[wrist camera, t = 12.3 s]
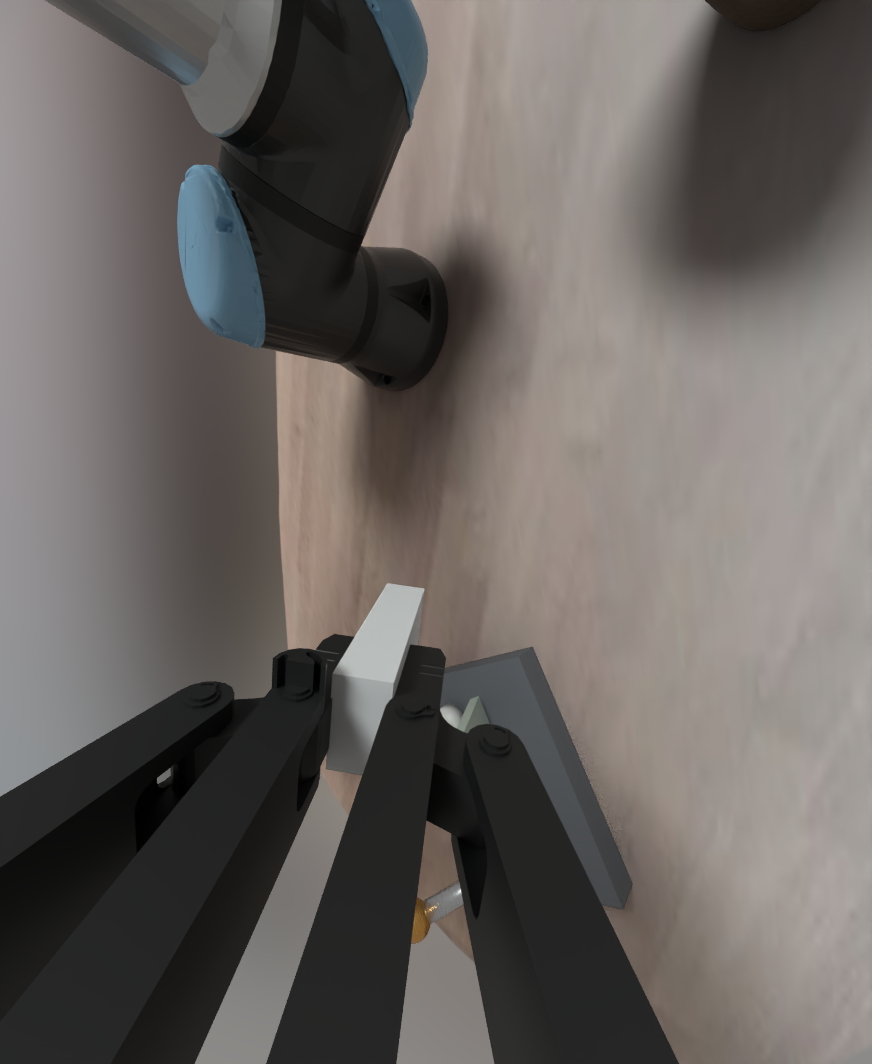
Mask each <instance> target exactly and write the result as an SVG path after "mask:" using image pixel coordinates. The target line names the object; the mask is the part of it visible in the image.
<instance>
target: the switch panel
mask: <svg viewBox="0 0 872 1064" xmlns="http://www.w3.org/2000/svg"><path fill="white" fill-rule="evenodd" d="M477 696H479V698H480V700H481V703H482V705H483V708H484V710H485V713H486V716H487V718H488V721H489V723H490V724H493V725H499V726H501V727H504V728H506V729H509V730H510V731H512V732H513V733H514V734H516V735H517V736H518V737H519V739H520V740H521V741H522V743H523V744H524V746H525V748H526V750H527V752H528V754H529V756H530V758H531V760H532V762H533V765H534V767H535V769H536V771H537V773H538V775H539V777H540V779H541V781H542V783H543V785H544V787H545V789H546V791H547V793H548V795H549V797H550V799H551V802H552V804H553V806H554V808H555V810H556V812H557V814H558V816H559V818H560V820H561V822H562V824H563V826H564V828H565V830H566V832H567V834H568V837H569V839H570V841H571V843H572V845H573V847H574V849H575V851H576V853H577V855H578V857H579V859H580V861H581V863H582V865H583V867H584V869H585V871H586V874H587V876H588V878H589V880H590V882H591V884H592V886H593V888H594V890H595V892H596V894H597V896H598V898H599V900H600V902H601V904H602V905H606V906H610V907H615V908H619V909H623V908H624V905H625V903H626V900H627V897H628V895H629V892H630V889H631V887H632V882H631V879H630V877H629V875H628V872H627V870H626V868H625V865H624V863H623V860H622V858H621V856H620V853H619V851H618V849H617V846H616V844H615V841H614V839H613V837H612V834H611V832H610V830H609V827H608V825H607V822H606V820H605V818H604V815H603V813H602V811H601V808H600V806H599V803H598V801H597V799H596V796H595V794H594V792H593V789H592V787H591V785H590V782H589V780H588V777H587V775H586V773H585V770H584V768H583V766H582V763H581V761H580V758H579V756H578V754H577V751H576V749H575V747H574V744H573V742H572V739H571V737H570V735H569V732H568V730H567V728H566V725H565V723H564V720H563V718H562V716H561V713H560V711H559V709H558V706H557V704H556V701H555V699H554V697H553V694H552V692H551V690H550V687H549V685H548V682H547V680H546V678H545V675H544V673H543V671H542V668H541V666H540V663H539V661H538V659H537V656H536V654H535V652H534V649H533V647H530V648H525V649H521V650H517V651H513V652H509V653H505V654H501V655H497V656H493V657H489V658H485V659H481V660H477V661H473V662H468V663H464V664H460V665H456V666H452V667H448V668H445V669H444V678H443V686H442V694H441V702H440V708H441V707H443V706H444V705H446V704H452V705H454V706H456V707H457V708H458V709H459V710H460V711H461V712H462V714H464V711H465V709H466V707H467V705H468V703H469V701H470V699H472V698H475V697H477Z"/></svg>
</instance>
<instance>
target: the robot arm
mask: <svg viewBox="0 0 872 1064" xmlns="http://www.w3.org/2000/svg"><path fill="white" fill-rule="evenodd" d="M45 1H47V2H48V3H50V4H52V5H53V6H55V7H56V8H58V9H60V10H62V11H63V12H65V13H66V14H68V15H69V16H71V17H73V18H74V19H76V20H78V21H79V22H81V23H83V24H84V25H86V26H87V27H89V28H91V29H92V30H94V31H96V32H97V33H99V34H101V35H102V36H104V37H105V38H107V39H108V40H110V41H112V42H114V43H115V44H117V45H118V46H120V47H121V48H123V49H125V50H126V51H128V52H130V53H131V54H133V55H134V56H136V57H138V58H139V59H141V60H143V61H144V62H146V63H147V64H149V65H151V66H153V67H154V68H156V69H157V70H159V71H161V72H162V73H164V74H165V75H167V76H169V77H170V78H172V79H174V80H175V81H177V82H178V83H179V84H180V86H181V88H182V90H183V92H184V94H185V96H186V98H187V100H188V103H189V105H190V107H191V109H192V111H193V113H194V115H195V117H196V118H197V120H198V122H199V123H200V124H201V125H202V127H203V128H204V129H205V130H207V131H208V132H210V133H211V134H213V135H215V136H216V137H218V138H220V139H222V140H223V141H222V147H221V152H220V157H219V162H218V167H217V170H216V169H215V168H214V167H212V166H209V165H203V166H201V165H194V166H192V167H190V168H189V170H188V171H187V172H186V174H185V181H184V182H183V183H182V185H181V189H180V194H179V202H178V221H177V223H178V244H179V254H180V261H181V267H182V272H183V277H184V281H185V285H186V289H187V292H188V295H189V298H190V300H191V303H192V305H193V308H194V309H195V311H196V313H197V315H198V317H199V318H200V320H201V321H202V322H203V323H204V325H205V326H206V327H207V328H208V329H210V330H211V331H212V332H214V333H216V334H217V335H219V336H222V337H225V338H228V339H232V340H235V341H238V342H242V343H245V344H248V345H249V346H251V347H253V348H260V347H261V348H266V349H271V350H276V351H280V352H285V353H290V354H294V355H299V356H304V357H309V358H313V359H318V360H323V361H328V362H333V363H337V364H340V365H341V366H343V367H344V368H346V369H347V370H349V371H350V372H352V373H353V374H355V375H356V376H358V377H359V378H361V379H362V380H364V381H365V382H367V383H368V384H370V385H372V386H375V387H377V388H382V389H387V390H393V391H399V390H404V389H407V388H409V387H411V386H413V385H414V384H416V383H417V382H418V381H420V380H421V379H422V378H423V377H424V376H425V375H426V373H427V372H428V371H429V369H430V368H431V367H432V365H433V363H434V362H435V360H436V358H437V356H438V354H439V351H440V349H441V346H442V343H443V339H444V336H445V331H446V325H447V310H448V309H447V297H446V291H445V287H444V284H443V281H442V278H441V276H440V274H439V273H438V271H437V269H436V268H435V267H434V266H433V264H432V263H431V262H429V261H428V260H427V259H425V258H423V257H421V256H420V255H418V254H416V253H414V252H412V251H410V250H407V249H403V248H386V247H363V246H361V244H362V241H363V239H364V237H365V234H366V232H367V229H368V227H369V224H370V222H371V219H372V217H373V214H374V212H375V209H376V207H377V204H378V202H379V199H380V197H381V194H382V192H383V189H384V187H385V184H386V182H387V179H388V177H389V174H390V172H391V169H392V166H393V164H394V161H395V159H396V156H397V154H398V151H399V149H400V146H401V144H402V141H403V139H404V136H405V134H406V133H407V132H408V131H409V129H410V127H411V125H412V120H413V115H414V108H415V105H416V102H417V99H418V97H419V94H420V91H421V88H422V85H423V82H424V80H425V77H426V73H427V62H428V58H427V56H428V48H427V42H426V37H425V33H424V30H423V27H422V24H421V21H420V19H419V16H418V14H417V12H416V10H415V7H414V5H413V3H412V1H411V0H45ZM423 598H424V588H417V587H410V586H403V585H396V584H389V583H387V585H386V586H385V588H384V590H383V591H382V593H381V594H380V596H379V598H378V599H377V601H376V603H375V604H374V606H373V608H372V609H371V611H370V613H369V614H368V616H367V618H366V619H365V621H364V622H363V624H362V626H361V627H360V629H359V631H358V632H357V634H356V636H355V637H351V636H344V635H337V634H334V635H332V636H330V637H328V638H326V639H324V640H323V641H322V642H321V643H320V645H319V646H318V647H317V649H316V650H312V649H302V648H298V649H291V650H287V651H285V652H282V653H279V654H278V655H277V656H275V657H274V658H273V669H272V670H273V672H272V689H271V690H270V691H269V692H268V694H267V695H266V696H265V697H263V698H255V699H238V700H234V691H233V689H232V687H231V686H229V685H227V684H226V683H221V682H216V681H215V682H202V683H198V684H194V685H190V686H188V687H186V688H184V689H182V690H180V691H178V692H176V693H175V694H173V695H171V696H170V697H168V698H166V699H165V700H163V701H161V702H159V703H158V704H156V705H154V706H153V707H151V708H149V709H148V710H146V711H145V712H143V713H141V714H139V715H137V716H136V717H134V718H132V719H131V720H129V721H127V722H126V723H124V724H122V725H121V726H119V727H118V728H116V729H114V730H112V731H110V732H109V733H107V734H105V735H104V736H102V737H100V738H99V739H97V740H95V741H94V742H92V743H90V744H89V745H87V746H85V747H83V748H82V749H80V750H78V751H77V752H75V753H74V754H72V755H70V756H68V757H67V758H65V759H63V760H62V761H60V762H58V763H57V764H55V765H53V766H51V767H50V768H48V769H46V770H45V771H43V772H41V773H40V774H38V775H36V776H35V777H33V778H31V779H29V780H28V781H26V782H24V783H23V784H21V785H19V786H18V787H16V788H14V789H13V790H11V791H9V792H7V793H6V794H4V795H2V796H1V797H0V1064H195V1061H196V1059H197V1057H198V1054H199V1052H200V1050H201V1048H202V1046H203V1043H204V1041H205V1039H206V1037H207V1034H208V1032H209V1030H210V1028H211V1025H212V1023H213V1021H214V1019H215V1016H216V1014H217V1012H218V1010H219V1008H220V1005H221V1003H222V1001H223V998H224V996H225V994H226V992H227V990H228V987H229V985H230V983H231V980H232V978H233V976H234V974H235V972H236V969H237V967H238V965H239V963H240V960H241V958H242V956H243V954H244V951H245V949H246V947H247V945H248V942H249V940H250V938H251V936H252V933H253V931H254V929H255V927H256V924H257V922H258V920H259V918H260V915H261V913H262V911H263V909H264V906H265V904H266V902H267V900H268V897H269V895H270V893H271V891H272V889H273V886H274V884H275V882H276V880H277V877H278V875H279V873H280V871H281V868H282V866H283V864H284V862H285V859H286V857H287V855H288V853H289V850H290V848H291V846H292V844H293V841H294V839H295V837H296V835H297V832H298V830H299V828H300V826H301V823H302V821H303V819H304V816H305V814H306V812H307V810H308V808H309V806H310V803H311V801H312V799H313V796H314V794H315V792H316V790H317V788H318V784H319V779H320V766H321V764H322V762H323V760H324V758H325V756H326V753H327V759H326V769H328V770H334V771H340V772H346V773H352V774H357V775H362V778H361V781H360V784H359V787H358V790H357V793H356V796H355V799H354V802H353V805H352V808H351V811H350V814H349V817H348V820H347V823H346V826H345V829H344V833H343V835H342V838H341V841H340V844H339V847H338V850H337V853H336V856H335V859H334V862H333V865H332V868H331V871H330V874H329V877H328V880H327V883H326V886H325V889H324V892H323V895H322V898H321V901H320V904H319V907H318V910H317V913H316V916H315V919H314V923H313V925H312V928H311V931H310V934H309V937H308V940H307V943H306V946H305V949H304V952H303V955H302V958H301V961H300V964H299V967H298V970H297V973H296V976H295V979H294V982H293V985H292V988H291V991H290V994H289V997H288V1000H287V1003H286V1006H285V1009H284V1012H283V1015H282V1018H281V1021H280V1024H279V1027H278V1030H277V1033H276V1036H275V1039H274V1042H273V1045H272V1048H271V1051H270V1054H269V1057H268V1060H267V1063H266V1064H396V1061H397V1053H398V1045H399V1037H400V1029H401V1021H402V1013H403V1005H404V997H405V987H406V980H407V972H408V964H409V956H410V947H411V940H412V932H413V924H414V916H415V908H416V899H417V891H418V883H419V875H420V867H421V859H422V851H423V843H424V835H425V827H426V820H427V821H429V822H431V823H432V824H434V825H436V826H438V827H440V828H442V829H444V830H446V831H448V832H450V833H451V842H452V847H453V852H454V857H455V862H456V868H457V873H458V878H459V883H460V888H461V893H462V898H463V904H464V909H465V914H466V919H467V924H468V929H469V935H470V940H471V945H472V950H473V955H474V960H475V965H476V970H477V976H478V980H479V986H480V991H481V996H482V1001H483V1006H484V1011H485V1017H486V1022H487V1027H488V1032H489V1037H490V1043H491V1048H492V1053H493V1058H494V1063H495V1064H679V1063H678V1061H677V1059H676V1057H675V1055H674V1052H673V1050H672V1048H671V1046H670V1044H669V1042H668V1040H667V1038H666V1036H665V1034H664V1032H663V1030H662V1028H661V1026H660V1024H659V1022H658V1020H657V1017H656V1015H655V1013H654V1011H653V1009H652V1007H651V1005H650V1003H649V1001H648V999H647V997H646V995H645V993H644V991H643V989H642V987H641V985H640V983H639V980H638V978H637V976H636V974H635V972H634V970H633V968H632V966H631V964H630V962H629V960H628V958H627V956H626V954H625V952H624V950H623V948H622V946H621V943H620V941H619V939H618V937H617V935H616V933H615V931H614V929H613V927H612V925H611V923H610V921H609V919H608V917H607V915H606V913H605V911H604V908H603V906H602V904H601V902H600V900H599V898H598V896H597V894H596V892H595V890H594V888H593V886H592V884H591V882H590V880H589V878H588V876H587V874H586V871H585V869H584V867H583V865H582V863H581V861H580V859H579V857H578V855H577V853H576V851H575V849H574V847H573V845H572V843H571V841H570V839H569V837H568V834H567V832H566V830H565V828H564V826H563V824H562V822H561V820H560V818H559V816H558V814H557V812H556V810H555V808H554V806H553V804H552V802H551V799H550V797H549V795H548V793H547V791H546V789H545V787H544V785H543V783H542V781H541V779H540V777H539V775H538V773H537V771H536V769H535V767H534V765H533V762H532V760H531V758H530V756H529V754H528V752H527V750H526V748H525V746H524V744H523V743H522V741H521V740H520V739H519V737H518V736H517V735H516V734H514V733H513V732H512V731H510V730H509V729H506V728H504V727H501V726H499V725H493V724H482V725H477V726H475V727H474V728H472V729H470V731H469V732H468V733H465V732H463V731H461V730H459V729H457V728H455V727H453V726H452V725H450V724H449V723H448V722H447V721H446V720H445V719H444V718H443V716H442V714H441V711H440V702H441V694H442V686H443V678H444V669H445V661H446V657H445V656H444V654H443V652H442V651H441V649H438V648H431V647H425V646H418V640H419V631H420V623H421V614H422V606H423ZM170 767H171V776H170V777H168V778H167V779H166V780H165V781H163V782H161V783H159V784H157V777H159V776H160V775H161V774H163V773H164V772H165V771H167V770H168V769H169V768H170Z"/></svg>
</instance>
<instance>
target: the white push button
mask: <svg viewBox="0 0 872 1064" xmlns="http://www.w3.org/2000/svg"><path fill="white" fill-rule="evenodd" d="M440 711H441V714H442V716H443V718H444V719H445V720H446V721H447V722H448V723H449V724H450V725H452V726H453V727H455V728H457V727H458V724H459V722H460V720H461V718H462V716H463V714H462V712H461V711H460V710H459V709H458V708H457V707H456V706H454V705H452V704H446V705H444V706H443V707H441V708H440Z"/></svg>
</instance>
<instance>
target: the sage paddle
mask: <svg viewBox="0 0 872 1064" xmlns="http://www.w3.org/2000/svg"><path fill="white" fill-rule="evenodd" d="M482 724H490V723H489V721H488V718H487V716H486V713H485V710H484V708H483V705H482V703H481V700H480V698H479V696H477V697H475V698H472V699H470V701H469V703H468V705H467V707H466V709H465V711H464V714H463V716H462V718H461V720H460V722H459V724H458V727H457V729H459V730H461V731H463V732H465V733H468V732H469V731H470V729H472V728H474V727H475V726H477V725H482Z"/></svg>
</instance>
